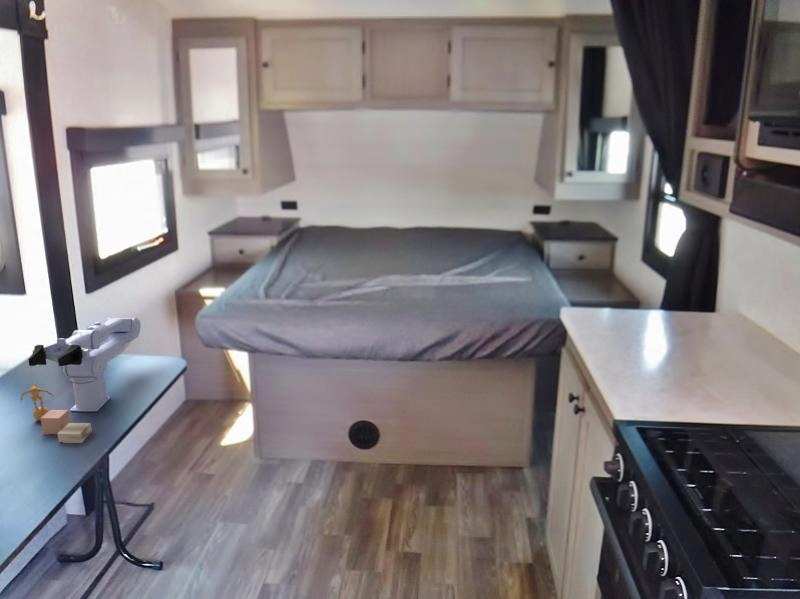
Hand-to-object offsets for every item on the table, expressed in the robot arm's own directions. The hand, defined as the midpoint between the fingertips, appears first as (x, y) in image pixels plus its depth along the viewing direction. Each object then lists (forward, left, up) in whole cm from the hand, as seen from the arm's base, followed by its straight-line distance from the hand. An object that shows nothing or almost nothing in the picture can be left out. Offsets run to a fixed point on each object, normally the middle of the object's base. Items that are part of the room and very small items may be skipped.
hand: (44, 362), depth 164 cm
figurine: (-9, -9, -22) cm, 25 cm away
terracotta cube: (-4, -2, -22) cm, 22 cm away
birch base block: (0, +5, -22) cm, 23 cm away
